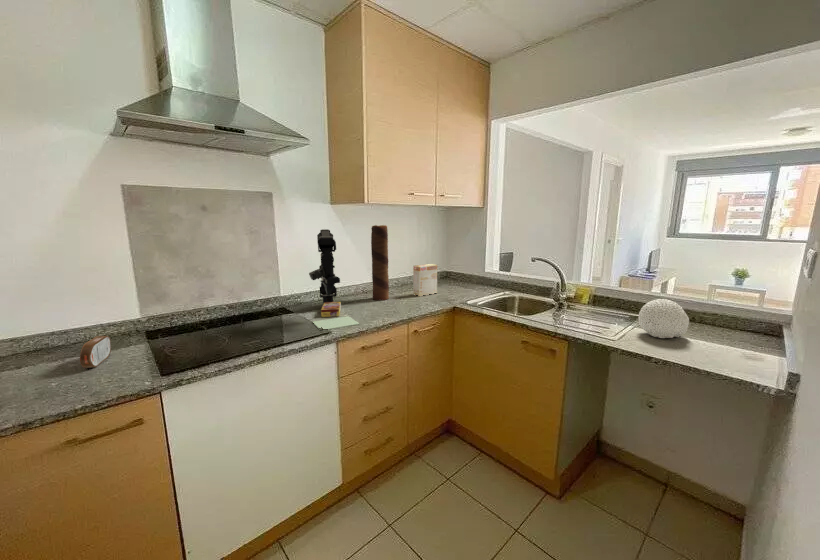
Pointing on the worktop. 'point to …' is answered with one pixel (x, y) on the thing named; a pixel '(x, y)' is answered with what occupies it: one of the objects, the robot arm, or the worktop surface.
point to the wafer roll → (380, 262)
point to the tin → (95, 351)
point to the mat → (336, 323)
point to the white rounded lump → (663, 319)
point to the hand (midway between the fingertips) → (328, 295)
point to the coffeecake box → (424, 279)
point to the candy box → (331, 309)
